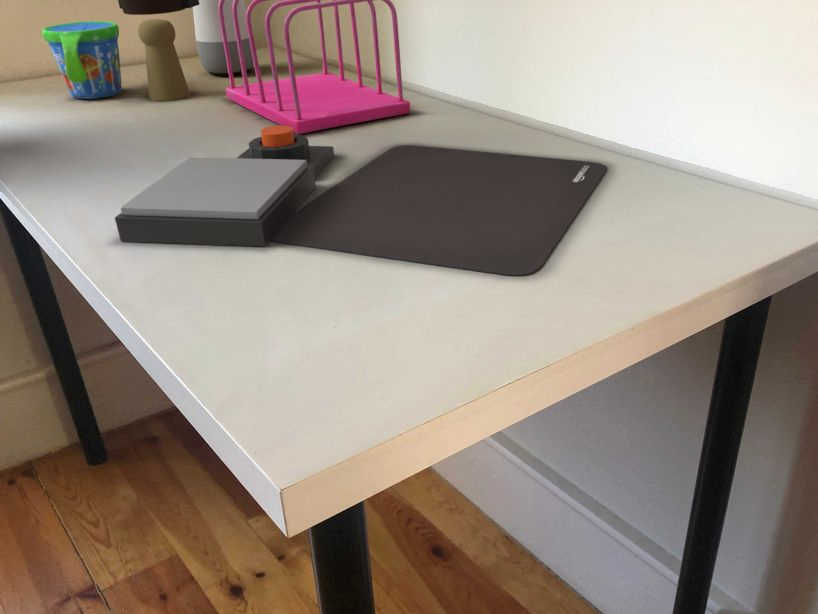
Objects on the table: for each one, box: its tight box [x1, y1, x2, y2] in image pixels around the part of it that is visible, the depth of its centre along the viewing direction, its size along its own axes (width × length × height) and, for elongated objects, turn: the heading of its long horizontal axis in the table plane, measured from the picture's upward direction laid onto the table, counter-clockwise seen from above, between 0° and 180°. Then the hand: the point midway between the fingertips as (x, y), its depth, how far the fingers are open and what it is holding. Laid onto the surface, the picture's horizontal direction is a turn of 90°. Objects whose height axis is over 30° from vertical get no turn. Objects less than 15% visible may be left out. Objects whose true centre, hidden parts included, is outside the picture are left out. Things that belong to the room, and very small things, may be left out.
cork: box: [137, 18, 191, 102], centre depth 120 cm, size 6×6×11 cm
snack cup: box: [41, 20, 122, 100], centre depth 122 cm, size 16×10×10 cm
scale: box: [114, 156, 317, 248], centre depth 79 cm, size 14×16×3 cm
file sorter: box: [218, 0, 411, 135], centre depth 111 cm, size 17×25×16 cm
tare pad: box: [237, 133, 335, 178], centre depth 91 cm, size 10×9×3 cm
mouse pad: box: [270, 144, 608, 278], centre depth 82 cm, size 32×27×1 cm
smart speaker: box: [192, 0, 254, 77], centre depth 133 cm, size 10×9×14 cm
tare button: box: [260, 124, 295, 147], centre depth 90 cm, size 4×4×2 cm
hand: (160, 6), depth 86 cm, fingers closed on coffee mug, 6 cm apart
